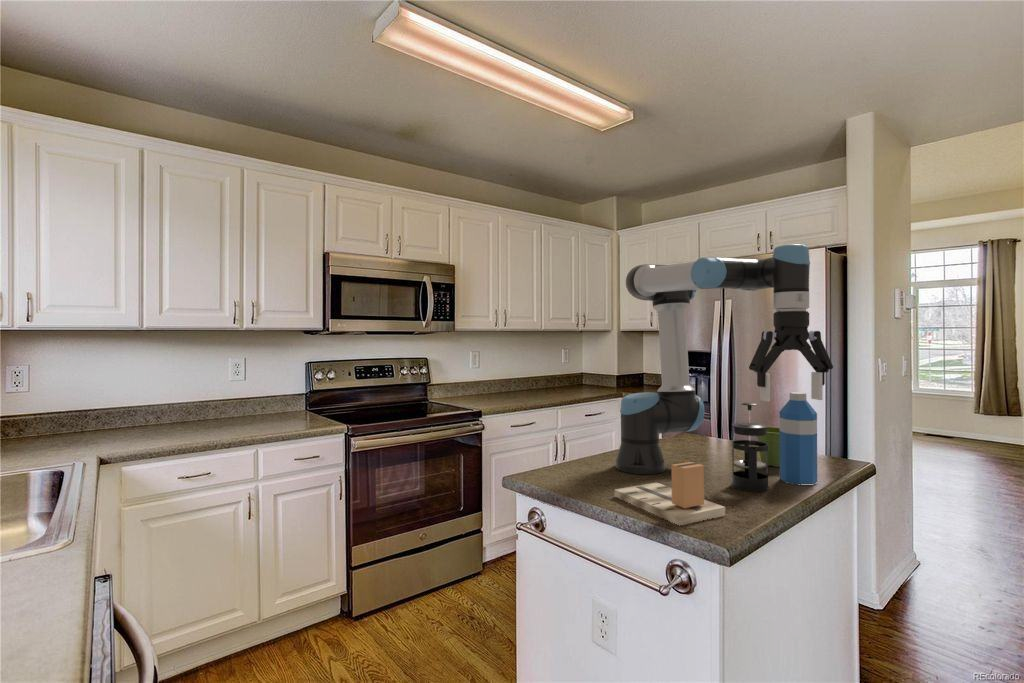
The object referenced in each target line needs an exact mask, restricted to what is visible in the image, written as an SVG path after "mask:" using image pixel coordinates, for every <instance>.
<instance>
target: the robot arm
mask: <svg viewBox="0 0 1024 683" xmlns="http://www.w3.org/2000/svg"><path fill="white" fill-rule="evenodd" d="M810 264H811V261H810V249H809V247H808V246H807V245H805V244H802V243H799V244H796V243H795V244H782V245H778V246H775V247H774V249H773V254H772V256H771V257H767V258H766V257H765V258H760V259H751V258H750V259H749V258H727V257H725V258H724V257H716V256H708V257H700V258H697V260H695V261H694V260H693V261H687V262H681V263H680V262H679V263H674V264H672V263H671V264H651V263H649V264H648V263H647V264H646V263H645V264H639V265H636V266H634V267H633V268H631V269H630V270H629V272H628V273H627V275H626V277H625V287H626V289H627V292H628V293H629V294H630V295H631V296H632V297H634V298H635V299H637V300H641V301H650V302H651V301H652V309H653V310H655V311H656V313H657V322H658V338H659V339H658V340H659V355H660V356H659V360H660V375H661V376H660V377H661V386H660V387H658V389H657V392H652V391H650V392H649V391H646V392H636V393H631V394H627V395H625V396H623V398H622V399H621V402H620V409H619V411H620V446H619V449H618V451H617V456H616V458H615V468H617V469H616V470H617V471H620V470H621V472H623V473H627V472H628V474H633V473H634V474H633V475H655V474H660V473H664V472H665V471H666V461H665V460H664V457H663V456H664V454H663V453H662V452H663V451H662V450H661V447H660V435H661V434H670V433H671V434H675V433H682V434H683V433H687V432H692V431H696V430H697V429H698V428H699V427H700V426H701V425H702V423H703V421H704V417H705V405H704V402H703V401H702V398H701V397H700V396H698V395H697V394H696V389H695V388H694V387H693V386H691V384H690V372H689V370H690V369H689V354H688V353H689V350H688V336H687V335H688V334H687V318H686V317H687V316H686V310H687V309H688V308H689V307H690V305H691V303H690V302H691V301H692V300H693V299H694V297H695V295H696V294H695V293H696V292H697V290H713V289H715V290H716V289H734V290H735V289H736V290H742V291H752V292H753V291H754V292H755V291H758V290H764V289H771V288H772V289H773V296H772V298H773V301H772V302H773V305H772V307H773V310H775V311H774V313H773V315H772V316H773V319H772V321H773V322H772V323H773V327H774V331H771V330H763V331H762V332H761V335H760V336H761V337H760V342H759V344H758V346H757V348H756V350H755V352H754V355H753V357H752V359H751V362H750V364H749V366H748V369H749V371H753V372H754V373H756V375H757V376H756V377H757V378H756V380H757V381H756V385H757V387H759V400H760V401H763V402H769V403H770V402H771V373H767V372H768V371H769V370H770V369H771V368H772V366H773V364H775V362H776V360H777V359H778V358H779V356H780V355H781V354H782V353H783V352H785V351H799V352H800V353H801V355H802V356H803V357H804V359H805V360H806V361H807V362H808V364H809V365H810V366H811V368H812V369H813V370H814V371H811V375H810V376H811V383H810V384H811V387H810V388H811V389H810V390H811V391H810V392H811V394H810V395H811V396H810V398H811V400H817V401H822V400H823V386H825V384H826V380H825V379H826V378H825V377H826V373H829V370H833V369H834V365H833V363H832V360H831V359H830V356H829V353H828V351H827V350H826V347H825V345H824V342H823V341H822V335H821V334H822V333H821V331H820V330H810V331H809V330H808V328H809V326H810V312H809V311H808V309H809V308H810V267H811V266H810ZM774 340H775V342H774V343H773V341H774ZM808 340H809V342H808ZM772 343H773V345H772ZM771 345H772V346H771ZM770 348H771V349H770ZM769 349H770V350H769ZM768 351H769V352H768Z"/></svg>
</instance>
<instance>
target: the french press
mask: <svg viewBox="0 0 1024 683" xmlns="http://www.w3.org/2000/svg"><path fill="white" fill-rule="evenodd" d="M741 405H742V406H747V411H748V422H735V423H732V424H731V426H732V427H733V433H734V434H736V435H740V436H748V439H737V440H733V441H731V449H732V451H731V454H732V455H731V461H732V462H731V463H732V464H731V470H732V472H731V473H732V476H731V477H732V481H731V487H732V488H734V489H737V490H739V491H745V492H751V493H763V492H768V491H769V490H770V486H769V466H768V444H767V443H764V442H760V441H758V440H751V439H752V438H751V437H757V436H763V435H766V429H767V428H768V427H769V426H768V425H766V424H761V423H755V422H751V411H752V406H753V407H754V406H759V404H758V403H756V402H742V403H741ZM734 449H735V450H739V451H744V458H743V459H739V460H737V459H736V460H735V459H734V457H735V456H734V455H735V454H734ZM760 451H766V464H765V463H763V462H761V461H758V452H759V453H760ZM734 467H737V468H740V469H744V470H736V471H735V470H734ZM765 469H766V474H765V473H763V472H758V470H765Z"/></svg>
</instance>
